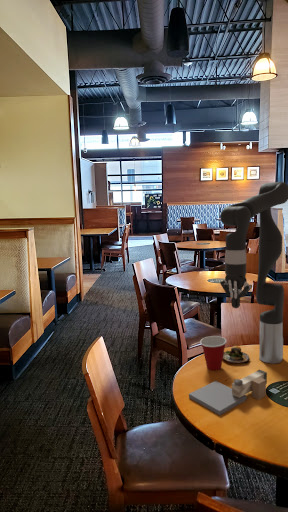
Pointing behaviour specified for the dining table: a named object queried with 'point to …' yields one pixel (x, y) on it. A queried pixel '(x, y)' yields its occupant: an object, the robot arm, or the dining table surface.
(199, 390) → the grey slab beige block
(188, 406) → the dining table surface
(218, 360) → the plastic cup
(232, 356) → the burger
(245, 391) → the folding leg
